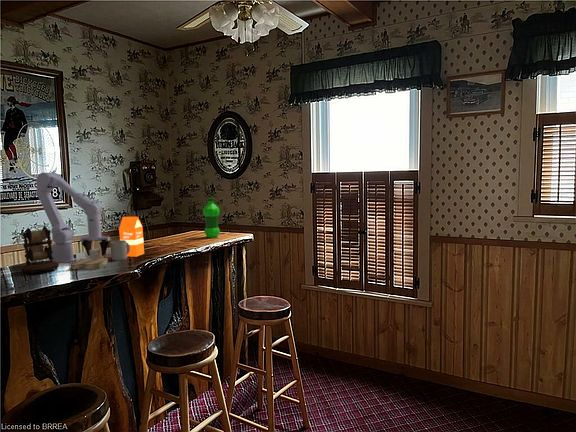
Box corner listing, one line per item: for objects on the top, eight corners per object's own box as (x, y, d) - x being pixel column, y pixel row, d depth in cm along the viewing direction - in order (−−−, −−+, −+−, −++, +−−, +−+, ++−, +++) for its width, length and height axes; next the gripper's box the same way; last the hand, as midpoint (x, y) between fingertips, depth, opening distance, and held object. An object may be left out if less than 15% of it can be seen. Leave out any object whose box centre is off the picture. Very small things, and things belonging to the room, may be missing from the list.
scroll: (51, 265, 202) (47, 223, 199) (64, 270, 192) (61, 226, 190) (16, 272, 190) (11, 227, 188) (28, 277, 181) (24, 230, 179)
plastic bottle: (201, 238, 268) (199, 198, 265) (209, 235, 278) (207, 197, 275) (215, 238, 265) (214, 198, 262) (223, 236, 275) (221, 197, 272)
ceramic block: (90, 261, 210) (89, 250, 209) (95, 259, 214) (94, 248, 213) (98, 261, 209) (97, 250, 208) (103, 259, 213) (102, 248, 213)
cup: (108, 259, 211) (107, 242, 210) (125, 256, 220) (124, 238, 219) (117, 261, 208) (116, 243, 207) (134, 257, 216) (133, 239, 215)
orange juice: (136, 256, 218) (133, 217, 215) (120, 256, 219) (118, 217, 217) (144, 253, 225) (142, 215, 223) (129, 253, 227) (126, 215, 225)
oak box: (71, 271, 191) (71, 264, 191) (81, 265, 203) (81, 259, 203) (99, 269, 193) (99, 263, 192) (107, 264, 205) (107, 257, 204)
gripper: (75, 229, 207) (78, 257, 208) (103, 229, 204) (105, 257, 206) (84, 227, 214) (87, 254, 215) (111, 227, 211) (113, 254, 213)
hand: (96, 255), depth 211 cm, fingers open, 7 cm apart
